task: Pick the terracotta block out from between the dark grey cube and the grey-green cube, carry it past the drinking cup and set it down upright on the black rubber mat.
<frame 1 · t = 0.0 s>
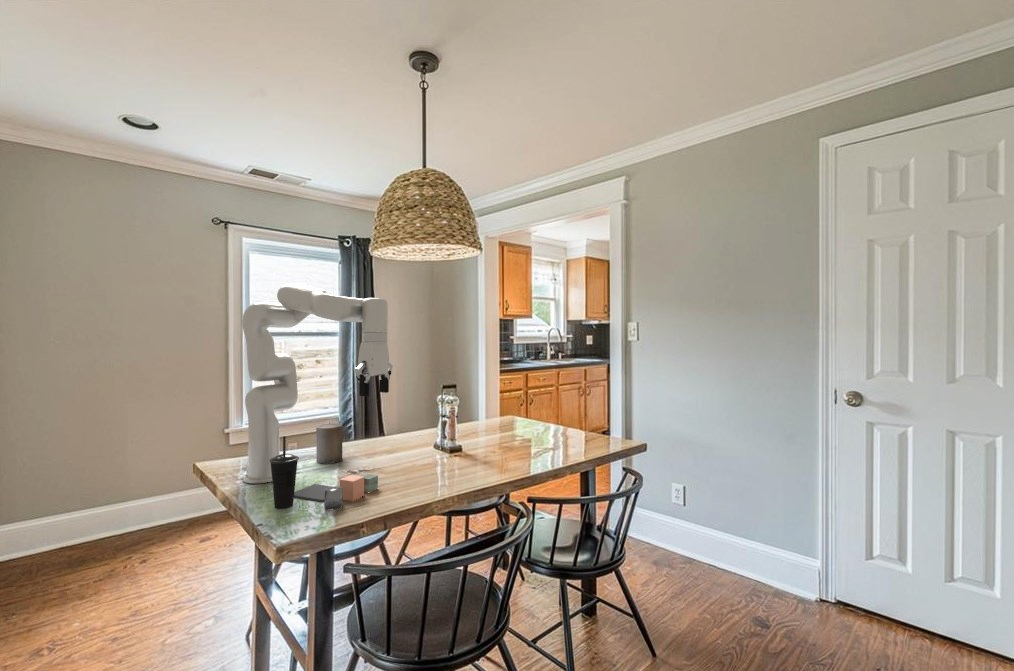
hand: (374, 394, 148), 31 cm above the table, tool pointing down, fingers open, 9 cm apart
green cube: (367, 490, 154), on the table
pillar candle: (329, 461, 188), on the table
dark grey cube: (333, 506, 139), on the table
black mat: (318, 493, 150), on the table
terracotta block: (351, 497, 147), on the table
drinking cup: (284, 506, 139), on the table
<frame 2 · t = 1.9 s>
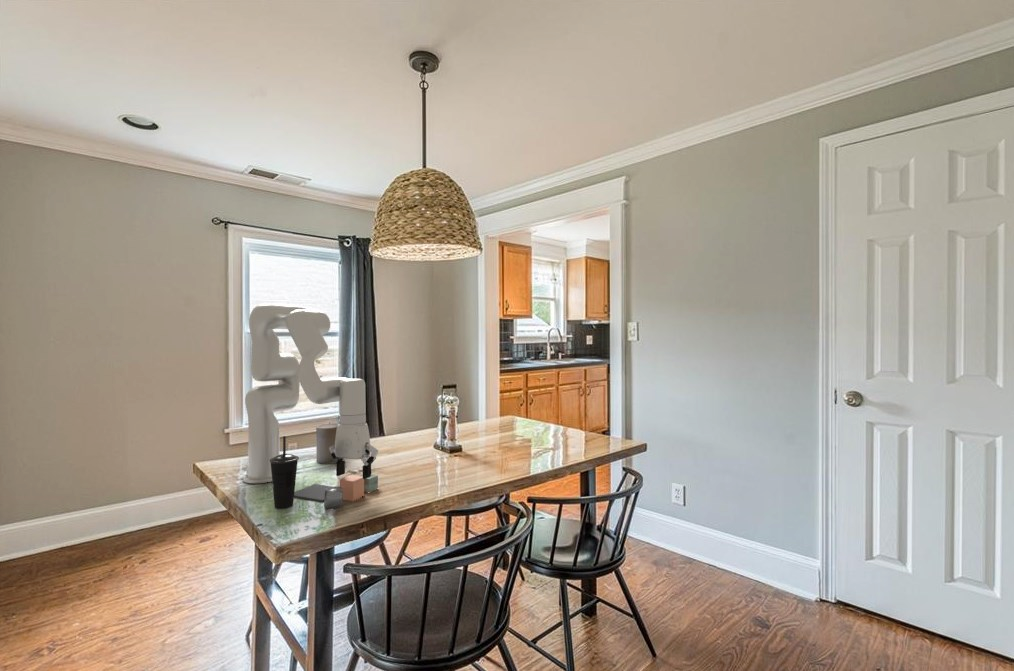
hand: (353, 476, 146), 7 cm above the table, tool pointing down, fingers open, 9 cm apart
nothing on the table moved.
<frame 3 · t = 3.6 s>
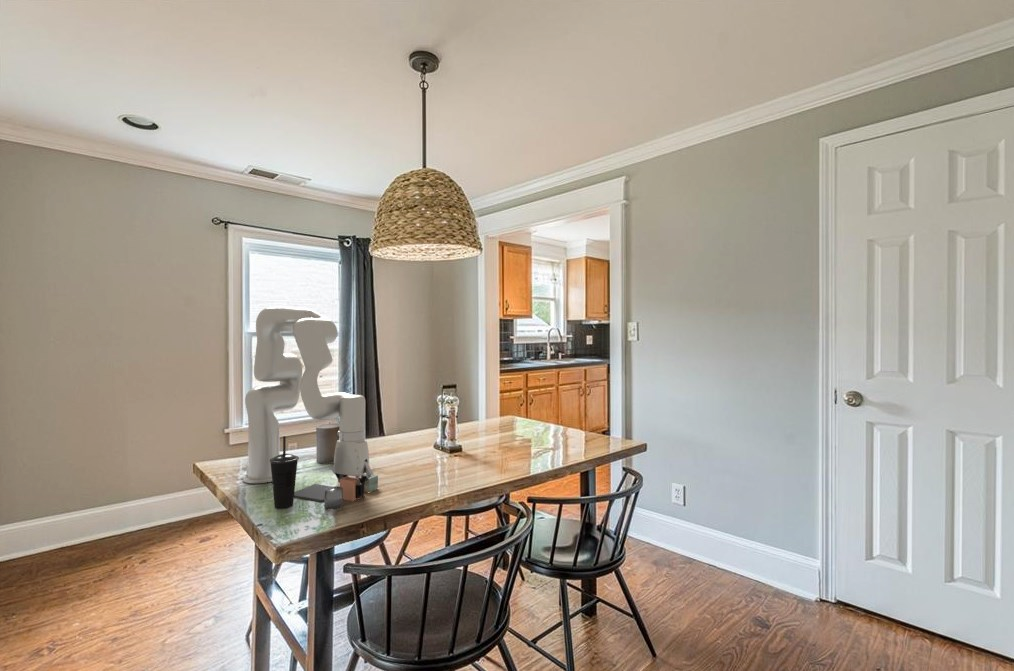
hand: (352, 495, 147), 1 cm above the table, tool pointing down, fingers closed on terracotta block, 5 cm apart
terracotta block: (352, 497, 147), on the table, touching gripper
everything else where it was.
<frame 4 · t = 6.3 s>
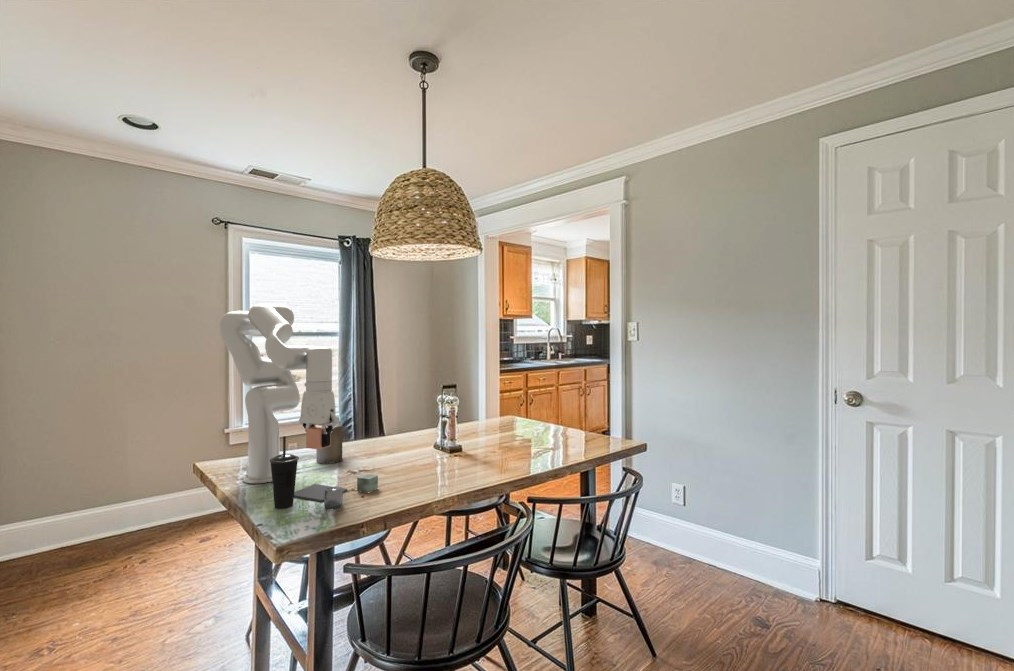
hand: (318, 444, 150), 15 cm above the table, tool pointing down, fingers closed on terracotta block, 5 cm apart
terracotta block: (318, 446, 150), point 14 cm above the table, touching gripper
everything else where it was.
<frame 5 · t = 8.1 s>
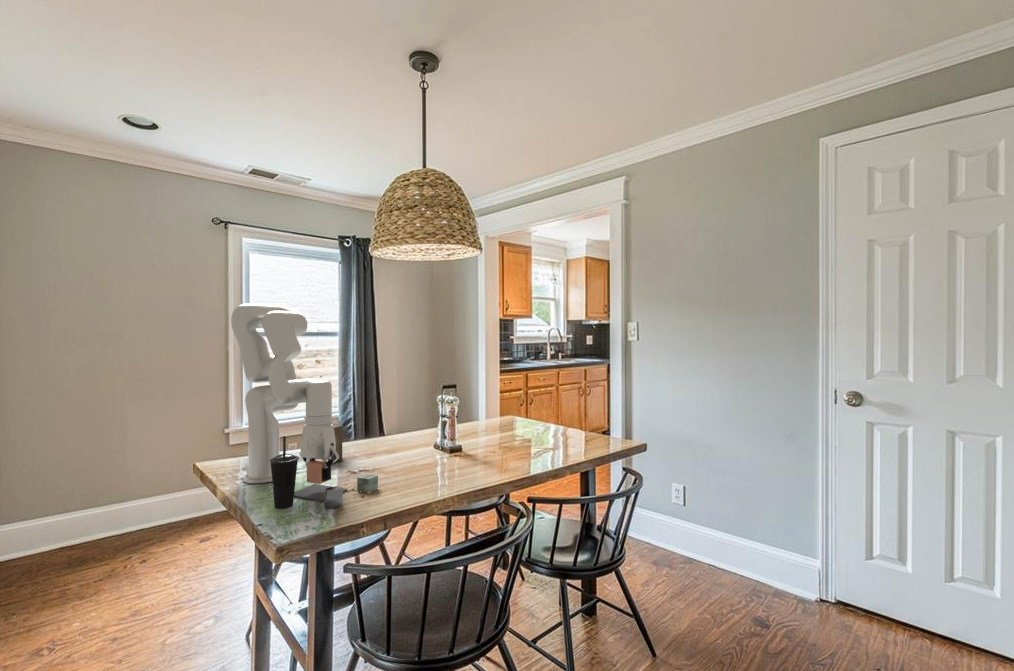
hand: (319, 478, 150), 5 cm above the table, tool pointing down, fingers closed on terracotta block, 5 cm apart
terracotta block: (319, 480, 150), point 4 cm above the table, touching gripper
everything else where it was.
when the fingers open (2 cm above the table, at t = 9.4 s): terracotta block drops 1 cm, resting on black mat.
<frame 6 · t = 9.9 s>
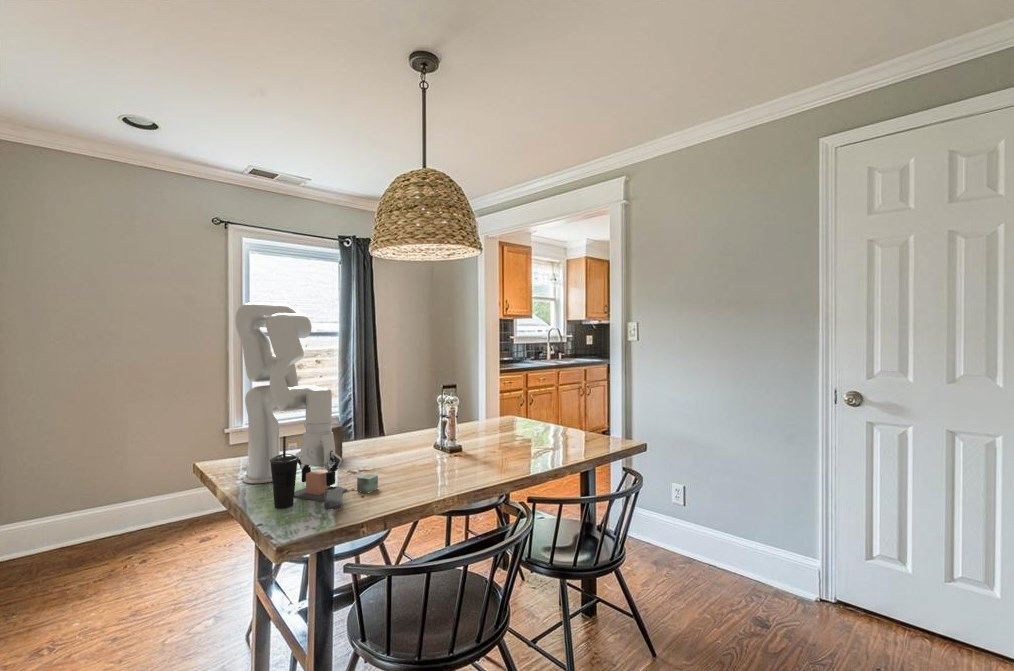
hand: (318, 482, 150), 3 cm above the table, tool pointing down, fingers open, 9 cm apart
terracotta block: (318, 491, 150), point 1 cm above the table, touching black mat
everything else where it was.
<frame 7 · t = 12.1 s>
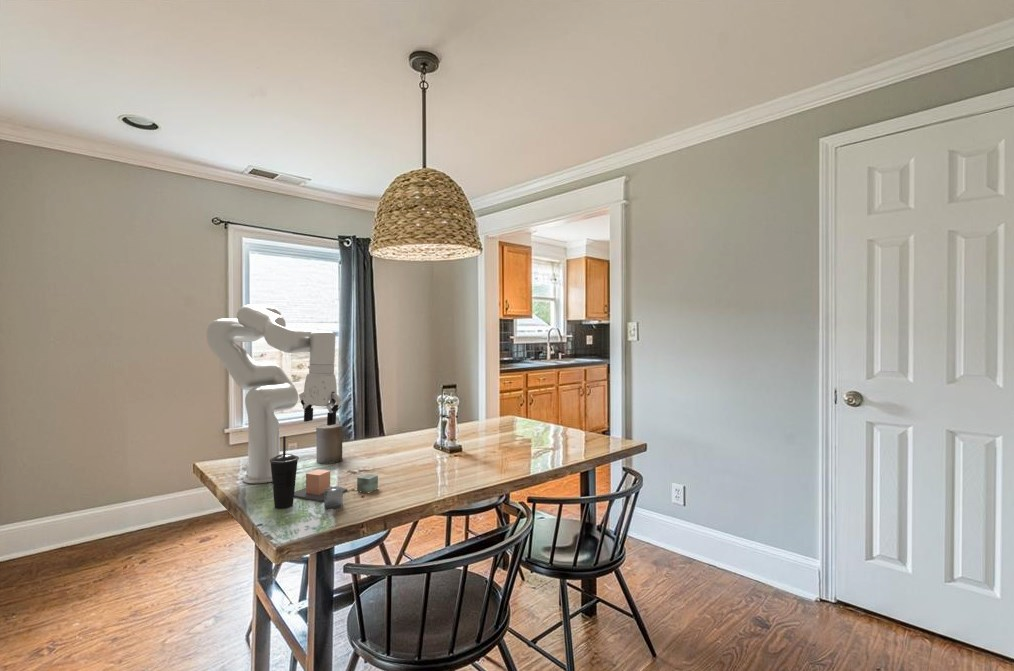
hand: (319, 422, 155), 21 cm above the table, tool pointing down, fingers open, 9 cm apart
nothing on the table moved.
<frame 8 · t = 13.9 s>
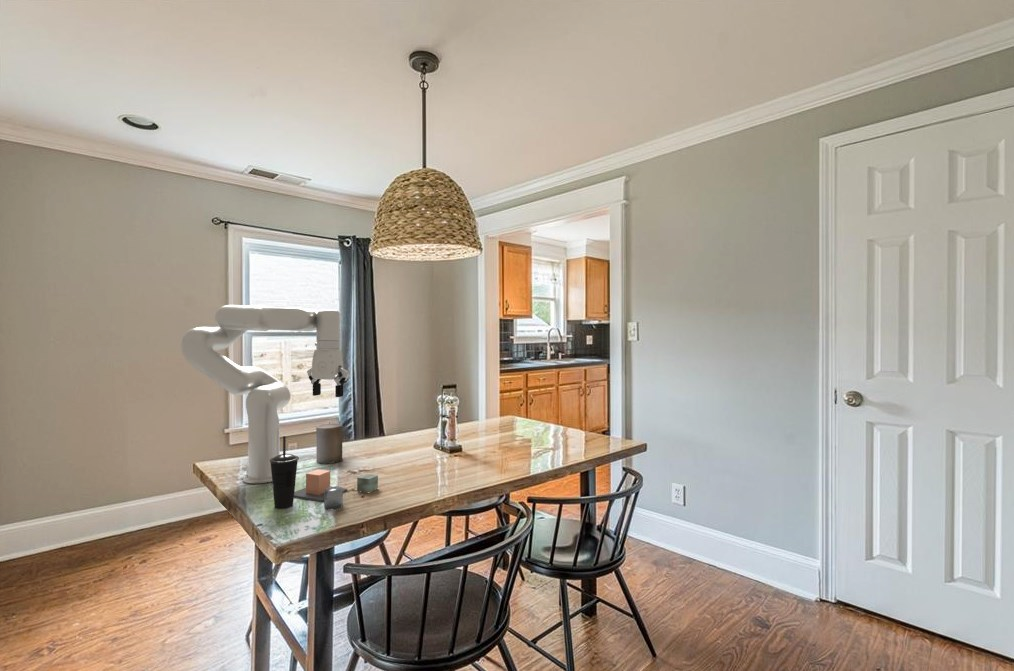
hand: (327, 396, 165), 28 cm above the table, tool pointing down, fingers open, 9 cm apart
nothing on the table moved.
at the end: terracotta block inside the target area on the black mat (0.1 cm from its centre), point 0.6 cm above the black mat's base; terracotta block tilted 0°; the gripper is holding nothing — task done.
